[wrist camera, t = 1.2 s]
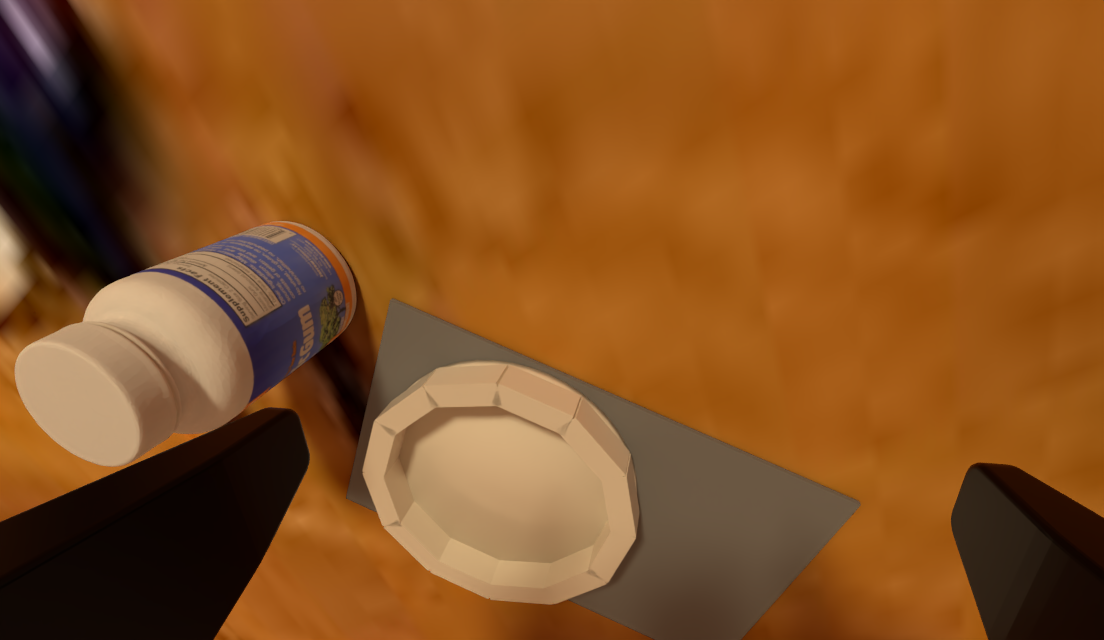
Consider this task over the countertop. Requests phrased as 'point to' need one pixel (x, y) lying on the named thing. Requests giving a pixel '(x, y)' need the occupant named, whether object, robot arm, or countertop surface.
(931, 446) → the countertop surface
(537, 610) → the countertop surface
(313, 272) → the pill bottle
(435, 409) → the dish
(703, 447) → the placemat
